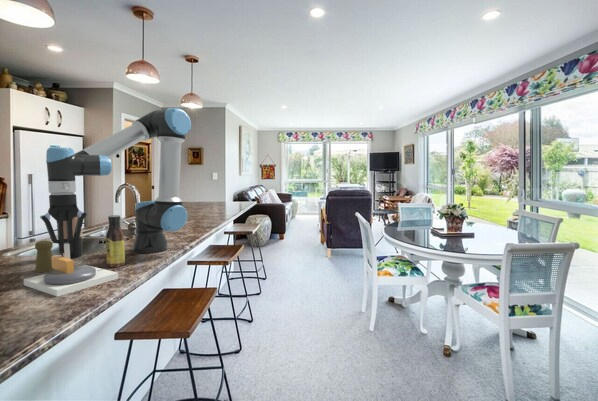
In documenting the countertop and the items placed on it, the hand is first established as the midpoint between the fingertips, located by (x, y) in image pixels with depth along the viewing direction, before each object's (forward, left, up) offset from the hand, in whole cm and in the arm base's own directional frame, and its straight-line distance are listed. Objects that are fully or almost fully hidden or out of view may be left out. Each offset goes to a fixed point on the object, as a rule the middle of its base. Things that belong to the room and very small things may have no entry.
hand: (66, 261), depth 113 cm
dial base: (+1, +5, -6) cm, 8 cm away
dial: (+3, +5, -4) cm, 7 cm away
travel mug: (-16, -29, -6) cm, 33 cm away
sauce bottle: (-17, 0, -6) cm, 18 cm away
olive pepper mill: (-1, -18, -6) cm, 19 cm away
